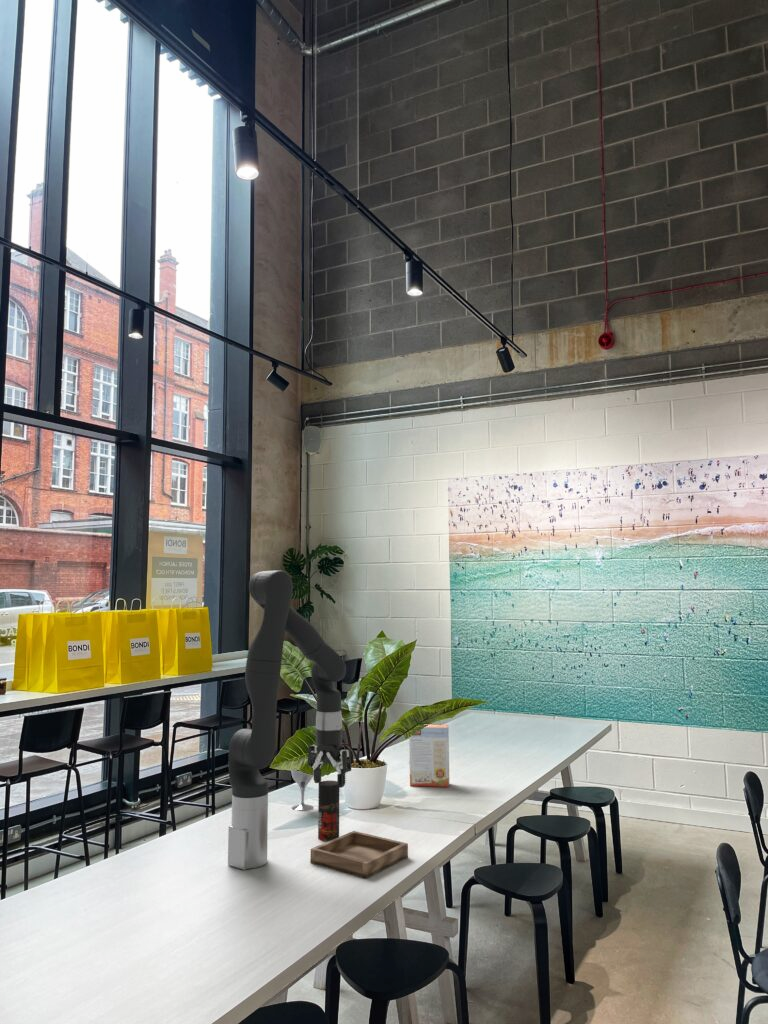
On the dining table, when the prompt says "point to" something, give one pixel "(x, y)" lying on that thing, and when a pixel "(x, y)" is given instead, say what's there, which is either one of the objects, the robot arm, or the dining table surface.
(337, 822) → the deodorant
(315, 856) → the tray
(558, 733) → the dining table surface
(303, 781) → the wine glass
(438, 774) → the cracker box
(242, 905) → the dining table surface
